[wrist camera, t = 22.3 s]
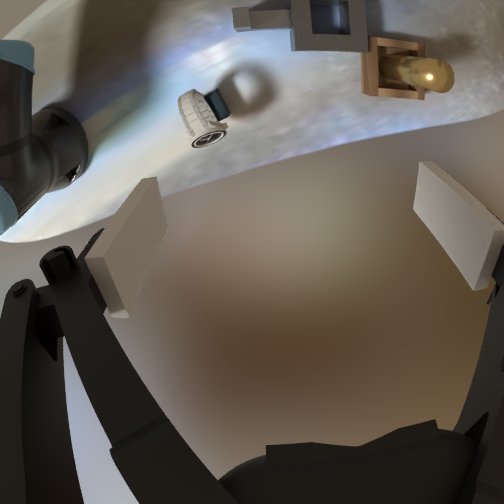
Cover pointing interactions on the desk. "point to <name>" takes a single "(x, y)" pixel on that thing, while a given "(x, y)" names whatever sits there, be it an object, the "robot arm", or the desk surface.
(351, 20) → the socket block
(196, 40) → the desk surface
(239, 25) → the grey l-shaped block
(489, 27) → the desk surface
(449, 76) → the tan rounded cylinder
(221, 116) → the watch
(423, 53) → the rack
